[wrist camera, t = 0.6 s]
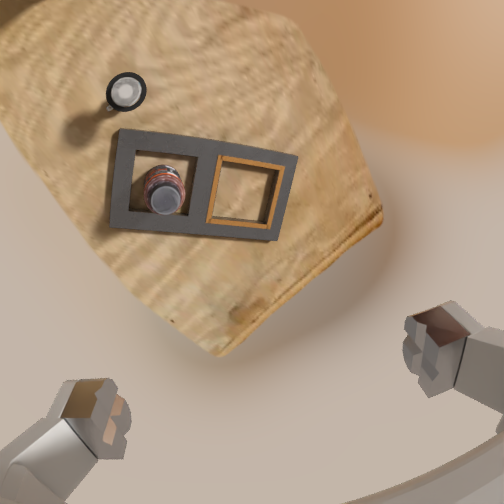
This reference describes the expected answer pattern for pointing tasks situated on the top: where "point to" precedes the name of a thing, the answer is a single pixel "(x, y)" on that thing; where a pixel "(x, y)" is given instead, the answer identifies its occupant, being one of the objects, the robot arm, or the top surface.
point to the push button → (125, 92)
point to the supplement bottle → (163, 190)
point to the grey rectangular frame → (199, 186)
